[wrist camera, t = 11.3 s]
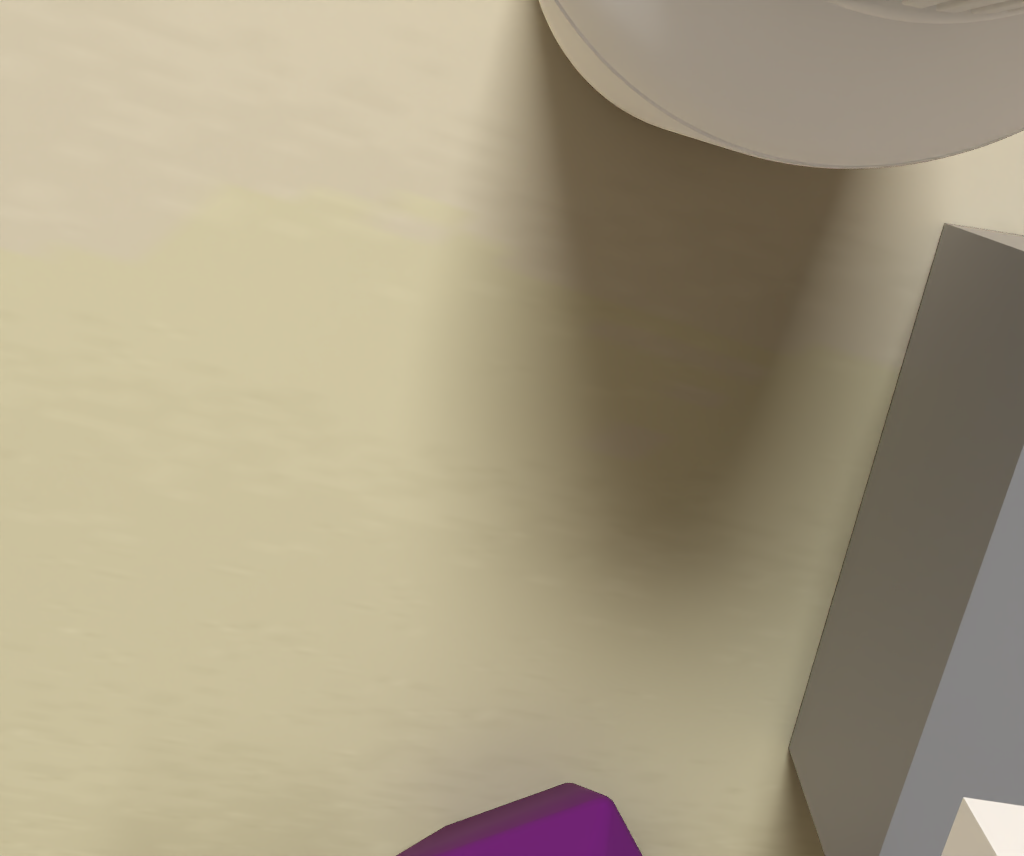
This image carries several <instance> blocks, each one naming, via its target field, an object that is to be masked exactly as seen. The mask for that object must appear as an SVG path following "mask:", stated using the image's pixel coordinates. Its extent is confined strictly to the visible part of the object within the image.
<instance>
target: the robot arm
mask: <svg viewBox="0 0 1024 856" xmlns="http://www.w3.org/2000/svg"><path fill="white" fill-rule="evenodd" d="M941 856H1024V806H1020V805H1013V804H1006V803H999V802H993V801H986V800H979V799H973V798H966V797H963V799H962V802H961V805H960V807H959V810H958V812H957V815H956V818H955V820H954V823H953V826H952V828H951V831H950V834H949V836H948V839H947V842H946V844H945V847H944V849H943V852H942V855H941Z"/></svg>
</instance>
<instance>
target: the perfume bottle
mask: <svg viewBox="0 0 1024 856" xmlns="http://www.w3.org/2000/svg"><path fill="white" fill-rule="evenodd" d="M396 856H642V854H641V852H640V850H639V848H638V847H637V845H636V843H635V841H634V839H633V837H632V836H631V834H630V832H629V830H628V828H627V826H626V824H625V823H624V821H623V819H622V817H621V815H620V813H619V812H618V810H617V808H616V806H615V804H614V802H613V801H612V800H611V799H609V798H608V797H607V796H604V795H602V794H599V793H597V792H594V791H592V790H589V789H586V788H584V787H581V786H579V785H576V784H574V783H565V784H562V785H559V786H556V787H553V788H551V789H548V790H545V791H542V792H540V793H537V794H534V795H531V796H528V797H526V798H523V799H520V800H517V801H514V802H512V803H509V804H506V805H503V806H500V807H498V808H495V809H492V810H489V811H486V812H484V813H481V814H478V815H475V816H472V817H470V818H467V819H464V820H461V821H459V822H456V823H453V824H450V825H447V826H445V827H443V828H442V829H440V830H438V831H437V832H435V833H433V834H432V835H430V836H428V837H427V838H425V839H423V840H422V841H420V842H418V843H417V844H415V845H413V846H412V847H410V848H408V849H407V850H405V851H403V852H401V853H400V854H398V855H396Z"/></svg>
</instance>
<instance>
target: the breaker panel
mask: <svg viewBox="0 0 1024 856" xmlns="http://www.w3.org/2000/svg"><path fill="white" fill-rule="evenodd" d="M789 751H790V754H791V757H792V760H793V763H794V766H795V769H796V772H797V775H798V778H799V781H800V784H801V787H802V790H803V792H804V795H805V798H806V801H807V804H808V807H809V810H810V813H811V816H812V819H813V822H814V825H815V828H816V831H817V834H818V837H819V840H820V843H821V846H822V849H823V852H824V855H825V856H941V855H942V852H943V849H944V847H945V844H946V842H947V839H948V836H949V834H950V831H951V828H952V826H953V823H954V820H955V818H956V815H957V812H958V810H959V807H960V805H961V802H962V799H963V797H966V798H973V799H979V800H986V801H993V802H999V803H1006V804H1013V805H1020V806H1024V236H1023V235H1016V234H1010V233H1004V232H997V231H991V230H985V229H979V228H972V227H966V226H960V225H953V224H947V223H945V224H944V228H943V231H942V234H941V238H940V241H939V245H938V248H937V251H936V255H935V258H934V261H933V265H932V268H931V271H930V275H929V278H928V281H927V285H926V288H925V292H924V295H923V298H922V302H921V305H920V308H919V312H918V315H917V318H916V322H915V325H914V329H913V332H912V335H911V339H910V342H909V345H908V349H907V352H906V355H905V359H904V362H903V366H902V369H901V372H900V376H899V379H898V382H897V386H896V389H895V392H894V396H893V399H892V402H891V406H890V409H889V413H888V416H887V419H886V423H885V426H884V429H883V433H882V436H881V439H880V443H879V446H878V450H877V453H876V456H875V460H874V463H873V466H872V470H871V473H870V476H869V480H868V483H867V486H866V490H865V493H864V497H863V500H862V503H861V507H860V510H859V513H858V517H857V520H856V523H855V527H854V530H853V534H852V537H851V540H850V544H849V547H848V550H847V554H846V557H845V560H844V564H843V567H842V571H841V574H840V577H839V581H838V584H837V587H836V591H835V594H834V597H833V601H832V604H831V607H830V611H829V614H828V618H827V621H826V624H825V628H824V631H823V634H822V638H821V641H820V644H819V648H818V651H817V655H816V658H815V661H814V665H813V668H812V671H811V675H810V678H809V681H808V685H807V688H806V692H805V695H804V698H803V702H802V705H801V708H800V712H799V715H798V718H797V722H796V725H795V728H794V732H793V735H792V739H791V742H790V745H789Z"/></svg>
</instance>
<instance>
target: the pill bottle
mask: <svg viewBox="0 0 1024 856" xmlns="http://www.w3.org/2000/svg"><path fill="white" fill-rule="evenodd" d="M539 3H540V6H541V9H542V11H543V14H544V16H545V19H546V21H547V23H548V25H549V27H550V29H551V31H552V33H553V35H554V37H555V39H556V41H557V42H558V44H559V46H560V47H561V49H562V50H563V52H564V53H565V55H566V56H567V58H568V59H569V61H570V62H571V63H572V65H573V66H574V67H575V68H576V70H577V71H578V72H579V73H580V74H581V75H582V76H583V78H584V79H585V80H586V81H587V82H588V83H589V84H590V85H591V86H592V87H593V88H594V89H596V90H597V91H598V92H599V93H600V94H601V95H602V96H604V97H605V98H606V99H607V100H609V101H610V102H611V103H613V104H614V105H616V106H617V107H619V108H620V109H622V110H623V111H625V112H627V113H628V114H630V115H632V116H634V117H636V118H638V119H640V120H642V121H644V122H646V123H649V124H651V125H654V126H656V127H659V128H662V129H665V130H668V131H671V132H675V133H678V134H681V135H684V136H688V137H691V138H694V139H697V140H700V141H704V142H707V143H710V144H713V145H717V146H720V147H723V148H726V149H730V150H733V151H736V152H739V153H743V154H746V155H750V156H753V157H757V158H761V159H766V160H770V161H775V162H780V163H786V164H792V165H799V166H807V167H817V168H832V169H868V168H883V167H894V166H902V165H909V164H916V163H922V162H927V161H932V160H937V159H941V158H945V157H949V156H953V155H957V154H961V153H964V152H967V151H971V150H974V149H977V148H980V147H983V146H986V145H989V144H991V143H994V142H997V141H999V140H1002V139H1004V138H1007V137H1009V136H1012V135H1014V134H1016V133H1019V132H1021V131H1023V130H1024V0H539Z"/></svg>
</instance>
